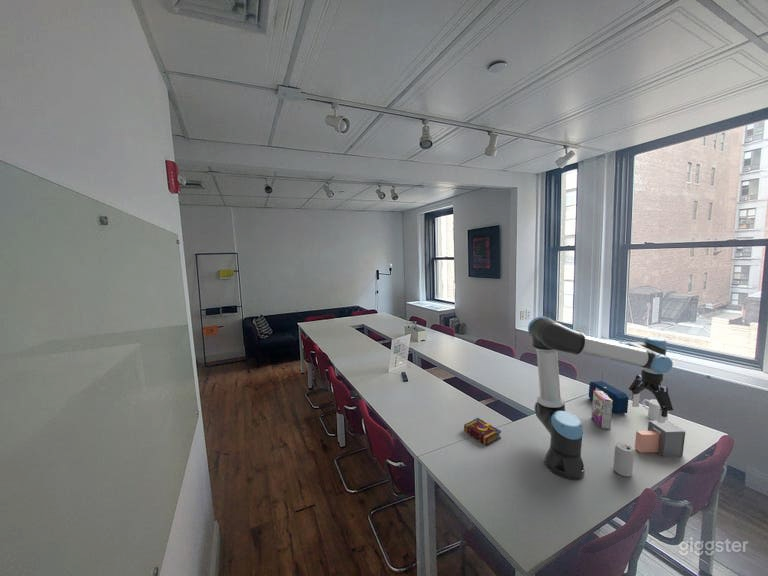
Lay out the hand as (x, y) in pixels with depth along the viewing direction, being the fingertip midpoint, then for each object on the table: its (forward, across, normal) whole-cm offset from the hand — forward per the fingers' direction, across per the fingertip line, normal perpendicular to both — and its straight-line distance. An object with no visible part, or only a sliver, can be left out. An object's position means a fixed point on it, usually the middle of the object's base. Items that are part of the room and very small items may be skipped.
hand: (647, 414), depth 141 cm
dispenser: (+18, 0, -10) cm, 21 cm away
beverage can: (+19, -13, +21) cm, 31 cm away
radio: (+19, +40, -12) cm, 46 cm away
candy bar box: (+19, +23, +4) cm, 30 cm away
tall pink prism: (+18, 0, -5) cm, 19 cm away
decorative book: (+19, +16, +73) cm, 77 cm away
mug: (+19, +27, -29) cm, 44 cm away
